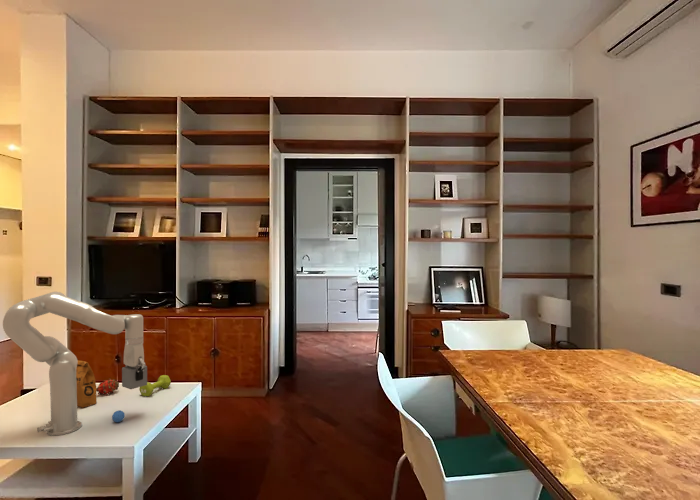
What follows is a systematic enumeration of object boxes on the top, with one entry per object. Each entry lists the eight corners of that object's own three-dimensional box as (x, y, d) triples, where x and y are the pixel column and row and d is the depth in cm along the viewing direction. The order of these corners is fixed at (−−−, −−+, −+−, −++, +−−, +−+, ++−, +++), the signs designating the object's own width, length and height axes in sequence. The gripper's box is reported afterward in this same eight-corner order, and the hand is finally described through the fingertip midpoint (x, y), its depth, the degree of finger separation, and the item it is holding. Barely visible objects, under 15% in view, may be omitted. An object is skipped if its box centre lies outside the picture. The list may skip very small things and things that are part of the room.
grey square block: (130, 389, 188) (130, 370, 188) (122, 386, 192) (122, 367, 192) (147, 384, 194) (147, 366, 194) (138, 381, 199) (138, 363, 199)
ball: (126, 409, 188) (127, 420, 188) (120, 407, 190) (121, 418, 190) (115, 414, 183) (116, 425, 183) (109, 411, 186) (110, 422, 186)
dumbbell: (149, 398, 217) (149, 384, 217) (137, 396, 219) (137, 382, 219) (172, 387, 232) (172, 375, 232) (161, 386, 235) (161, 373, 235)
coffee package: (79, 410, 201) (78, 365, 201) (66, 405, 208) (65, 361, 207) (100, 403, 210) (99, 360, 210) (87, 399, 216) (86, 357, 216)
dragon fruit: (121, 393, 228) (97, 403, 219) (115, 382, 232) (91, 391, 223) (122, 384, 223) (98, 393, 215) (116, 372, 227) (92, 381, 219)
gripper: (116, 340, 195) (116, 377, 195) (136, 344, 185) (136, 384, 185) (132, 337, 201) (132, 373, 201) (152, 341, 192) (152, 379, 192)
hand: (134, 378), depth 193 cm, fingers closed on grey square block, 7 cm apart
